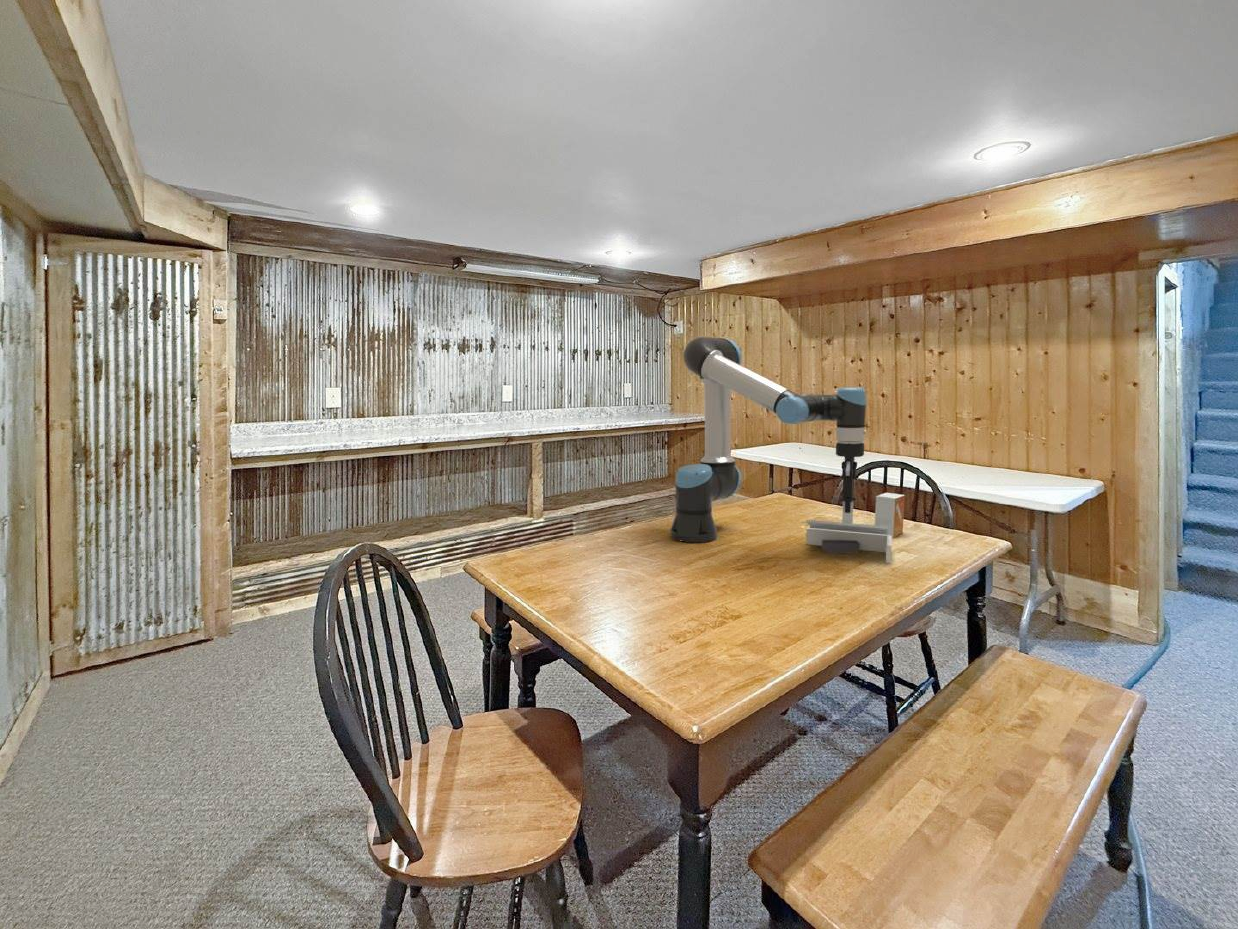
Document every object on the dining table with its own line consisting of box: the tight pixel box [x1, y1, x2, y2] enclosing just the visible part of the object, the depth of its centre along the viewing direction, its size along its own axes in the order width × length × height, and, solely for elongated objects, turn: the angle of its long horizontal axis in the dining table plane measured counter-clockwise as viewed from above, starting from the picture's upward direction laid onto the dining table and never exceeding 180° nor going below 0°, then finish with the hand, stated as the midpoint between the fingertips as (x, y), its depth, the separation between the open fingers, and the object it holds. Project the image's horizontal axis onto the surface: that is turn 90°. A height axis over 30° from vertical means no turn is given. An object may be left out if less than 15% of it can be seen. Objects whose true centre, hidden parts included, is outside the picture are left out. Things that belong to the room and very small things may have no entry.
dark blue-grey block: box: [821, 540, 860, 553], centre depth 175 cm, size 10×4×3 cm, turn 82°
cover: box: [805, 519, 888, 535], centre depth 172 cm, size 22×12×1 cm, turn 65°
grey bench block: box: [805, 527, 893, 564], centre depth 174 cm, size 24×14×5 cm, turn 65°
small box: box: [874, 492, 906, 539], centre depth 192 cm, size 8×6×13 cm
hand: (847, 522), depth 170 cm, fingers closed
